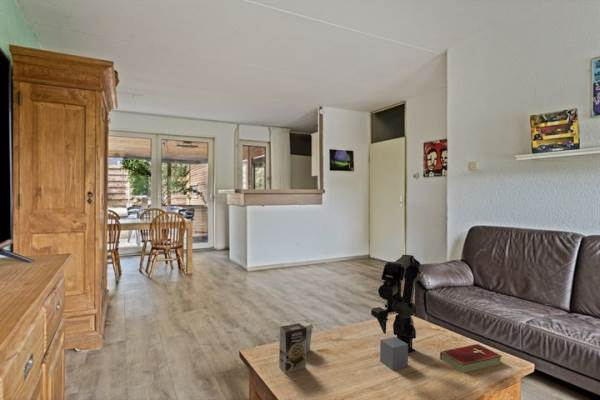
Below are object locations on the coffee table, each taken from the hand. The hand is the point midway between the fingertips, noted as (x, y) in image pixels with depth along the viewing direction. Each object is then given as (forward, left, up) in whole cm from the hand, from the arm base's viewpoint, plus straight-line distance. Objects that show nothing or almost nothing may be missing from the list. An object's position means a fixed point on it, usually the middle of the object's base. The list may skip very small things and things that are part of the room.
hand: (393, 331), depth 136 cm
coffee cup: (+29, -25, -13) cm, 41 cm away
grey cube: (0, 0, -13) cm, 13 cm away
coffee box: (+39, -13, -13) cm, 43 cm away
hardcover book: (-31, +11, -14) cm, 36 cm away
